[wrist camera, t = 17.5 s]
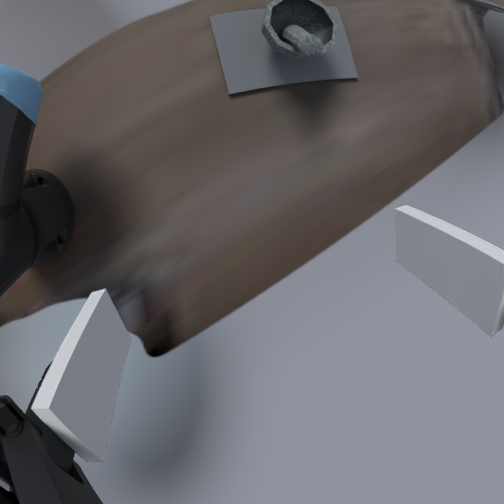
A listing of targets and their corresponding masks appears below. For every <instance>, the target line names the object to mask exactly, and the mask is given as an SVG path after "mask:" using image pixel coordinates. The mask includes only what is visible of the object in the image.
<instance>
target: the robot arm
mask: <svg viewBox="0 0 504 504" xmlns="http://www.w3.org/2000/svg"><path fill="white" fill-rule="evenodd" d="M42 96H43V90H42V87H41V84H40V83H39V82H38V81H37V80H36V79H35V78H33V77H32V76H30V75H28V74H26V73H24V72H22V71H20V70H17V69H15V68H12V67H9V66H6V65H3V64H0V297H1V295H2V294H3V293H4V292H5V291H6V290H7V289H8V288H9V287H10V286H11V285H12V284H13V283H14V282H15V281H16V280H17V279H18V278H19V277H20V276H21V275H22V274H23V273H24V272H25V271H26V270H27V269H28V268H31V267H35V266H40V265H44V264H47V263H50V262H51V261H53V260H54V259H56V258H57V257H58V256H59V255H60V254H61V253H62V252H63V251H64V250H65V249H66V247H67V246H68V244H69V242H70V240H71V237H72V234H73V229H74V211H73V206H72V202H71V199H70V197H69V194H68V192H67V190H66V189H65V187H64V186H63V184H62V183H61V182H60V181H59V180H58V179H57V178H56V177H55V176H54V175H52V174H51V173H49V172H47V171H44V170H40V169H32V170H27V171H25V169H26V164H27V159H28V154H29V149H30V145H31V141H32V137H33V133H34V129H35V127H36V126H37V115H38V111H39V108H40V104H41V100H42ZM395 225H396V226H395V227H396V262H397V263H398V264H399V265H401V266H402V267H403V268H405V269H406V270H408V271H409V272H410V273H412V274H413V275H414V276H416V277H417V278H418V279H420V280H421V281H422V282H424V283H425V284H426V285H427V286H429V287H430V288H431V289H433V290H434V291H435V292H436V293H438V294H439V295H440V296H442V297H443V298H444V299H445V300H447V301H448V302H449V303H450V304H452V305H453V306H454V307H455V308H457V309H458V310H459V311H460V312H462V313H463V314H464V315H465V316H466V317H467V318H469V319H470V320H471V321H472V322H474V323H475V324H476V325H477V326H478V327H479V328H480V329H482V330H483V331H484V332H485V333H486V334H487V335H489V336H490V337H492V336H493V335H494V334H496V333H497V332H498V331H499V330H501V329H502V328H503V325H504V251H503V250H501V249H500V248H498V247H496V246H494V245H491V244H490V243H488V242H486V241H484V240H482V239H480V238H478V237H476V236H474V235H472V234H470V233H468V232H466V231H464V230H462V229H460V228H458V227H456V226H453V225H451V224H449V223H447V222H445V221H443V220H440V219H438V218H436V217H434V216H431V215H429V214H426V213H424V212H422V211H419V210H417V209H415V208H412V207H410V206H408V205H406V206H403V207H399V208H395ZM130 342H131V337H130V335H129V333H128V331H127V330H126V328H125V326H124V324H123V322H122V320H121V318H120V316H119V314H118V312H117V310H116V308H115V306H114V304H113V302H112V300H111V298H110V296H109V294H108V292H107V290H106V289H102V290H98V291H95V292H92V293H91V294H90V296H89V298H88V299H87V301H86V302H85V304H84V306H83V308H82V309H81V311H80V313H79V314H78V316H77V318H76V319H75V321H74V323H73V325H72V326H71V328H70V330H69V332H68V334H67V335H66V337H65V339H64V341H63V343H62V345H61V347H60V348H59V351H58V352H57V354H56V356H55V358H54V360H53V361H52V362H51V363H50V365H49V366H48V367H47V368H46V370H45V372H44V374H43V376H42V380H40V382H39V384H38V388H36V390H35V393H34V395H33V397H32V399H31V402H30V404H29V406H28V408H27V411H26V413H25V414H24V413H23V411H22V410H21V409H20V408H19V407H18V406H17V405H16V404H15V402H14V401H13V400H12V399H11V398H10V397H9V396H7V395H3V396H0V479H1V480H2V481H3V482H5V483H6V484H7V485H9V487H10V491H7V490H5V489H4V488H2V487H1V486H0V504H103V503H102V501H101V500H100V498H99V497H98V496H97V494H96V492H95V491H94V489H93V488H92V486H91V485H90V483H89V481H88V480H87V478H86V476H85V475H84V473H83V471H82V470H81V468H80V466H79V465H78V464H77V463H76V462H75V461H74V460H73V458H74V453H76V454H78V455H79V456H80V457H81V458H82V459H84V460H85V461H87V462H88V461H89V462H104V460H105V454H106V448H107V441H108V437H109V431H110V426H111V421H112V416H113V412H114V407H115V402H116V398H117V393H118V389H119V385H120V381H121V377H122V372H123V368H124V365H125V361H126V357H127V353H128V349H129V346H130Z"/></svg>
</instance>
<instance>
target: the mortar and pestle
mask: <svg viewBox="0 0 504 504" xmlns="http://www.w3.org/2000/svg"><path fill="white" fill-rule="evenodd" d="M261 32H262V33H263V35H264V36H265V38H266V40H267V41H268V43H269V44H270V46H271V48H272V49H273V51H275V52H277V53H279V54H281V55H283V56H285V57H287V56H288V57H289V58H291V59H303V58H316V57H319V56H320V55H322V54H323V53H324V52H326V51H327V50H328V49H329V48H330V47H332V46H333V45H334V44H335V43H336V42H337V33H338V22H337V21H336V19H335V18H334V16H333V15H332V13H331V11H330V10H329V8H328V7H327V6H326V5H325V4H323V3H321V2H319V1H318V0H274V1H272V2H271V3H270V4H268V5H267V6H266V8H265V11H264V18H263V24H262V31H261Z"/></svg>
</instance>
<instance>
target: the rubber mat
mask: <svg viewBox="0 0 504 504" xmlns="http://www.w3.org/2000/svg"><path fill="white" fill-rule="evenodd" d="M327 7H328V8H329V10H330V11H331V13H332V15H333V16H334V18H335V19H336V21H337V22H338V33H337V42H336V43H335V44H334V45H333V46H332V47H330V48H329V49H328V50H327V51H326V52H324V53H323V54H322V55H320V56H319V57H316V58H303V59H291V58H289V57H288V56H287V57H285V56H283V55H281V54H279V53H277V52H275V51H273V49H272V48H271V46H270V44H269V43H268V41H267V40H266V38H265V36H264V35H263V33H262V32H261V31H262V24H263V18H264V11H265V8H262V9H252V10H244V11H237V12H230V13H224V14H218V15H213V16H209V20H210V24H211V28H212V31H213V35H214V39H215V43H216V47H217V51H218V55H219V59H220V63H221V67H222V70H223V74H224V78H225V82H226V86H227V90H228V94H229V95H231V94H235V93H240V92H245V91H250V90H256V89H261V88H267V87H273V86H280V85H287V84H294V83H302V82H311V81H321V80H333V79H348V78H358V76H357V72H356V68H355V64H354V60H353V56H352V53H351V49H350V46H349V42H348V39H347V36H346V32H345V29H344V26H343V23H342V20H341V17H340V14H339V11H338V8H337V7H333V6H327Z"/></svg>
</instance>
